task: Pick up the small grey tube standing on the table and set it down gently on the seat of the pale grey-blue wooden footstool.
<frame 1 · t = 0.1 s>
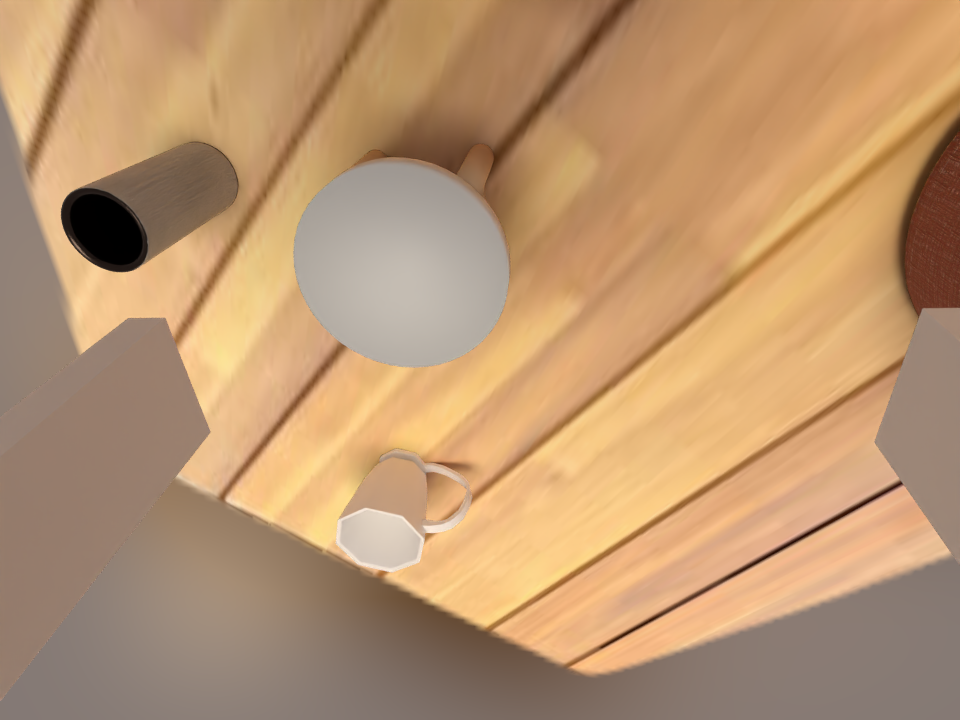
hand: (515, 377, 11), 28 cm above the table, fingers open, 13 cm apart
grey tube 2: (206, 176, 39), on the table
cup: (420, 465, 51), on the table
stool: (434, 212, 38), on the table
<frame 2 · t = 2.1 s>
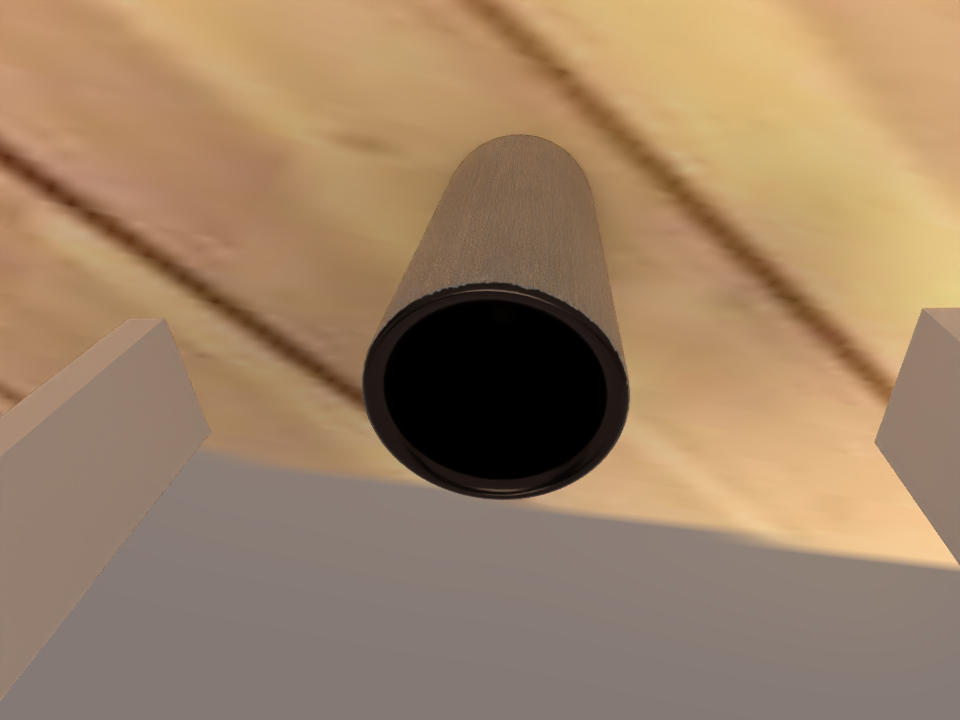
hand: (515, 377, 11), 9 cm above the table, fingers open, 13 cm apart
grey tube 2: (518, 206, 19), on the table
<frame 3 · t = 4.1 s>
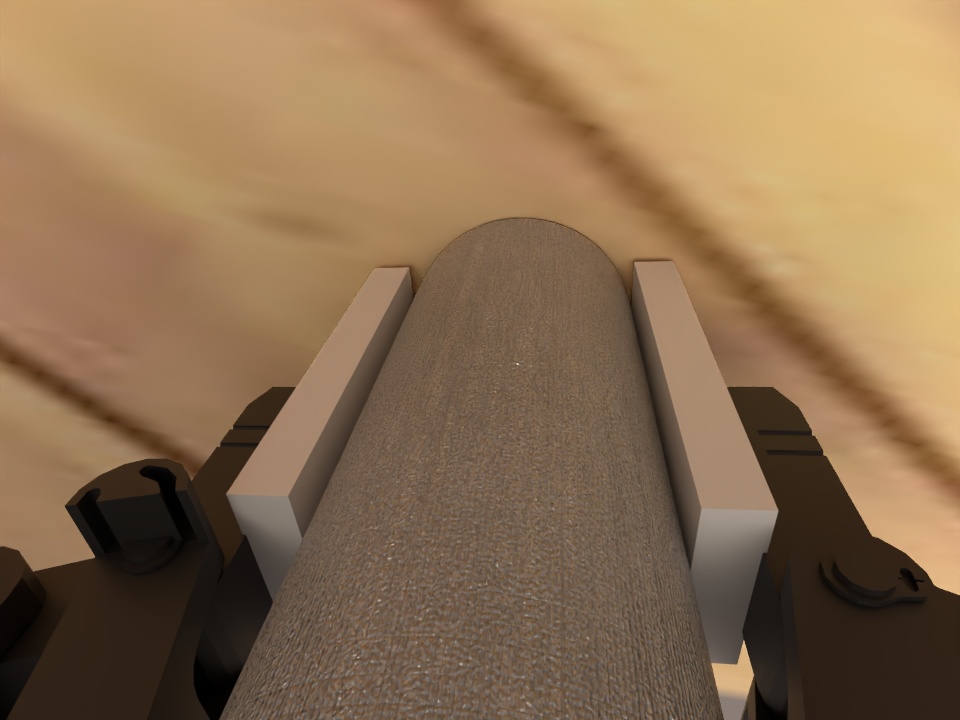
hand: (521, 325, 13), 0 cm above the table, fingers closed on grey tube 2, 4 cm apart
grey tube 2: (522, 312, 13), on the table, touching gripper
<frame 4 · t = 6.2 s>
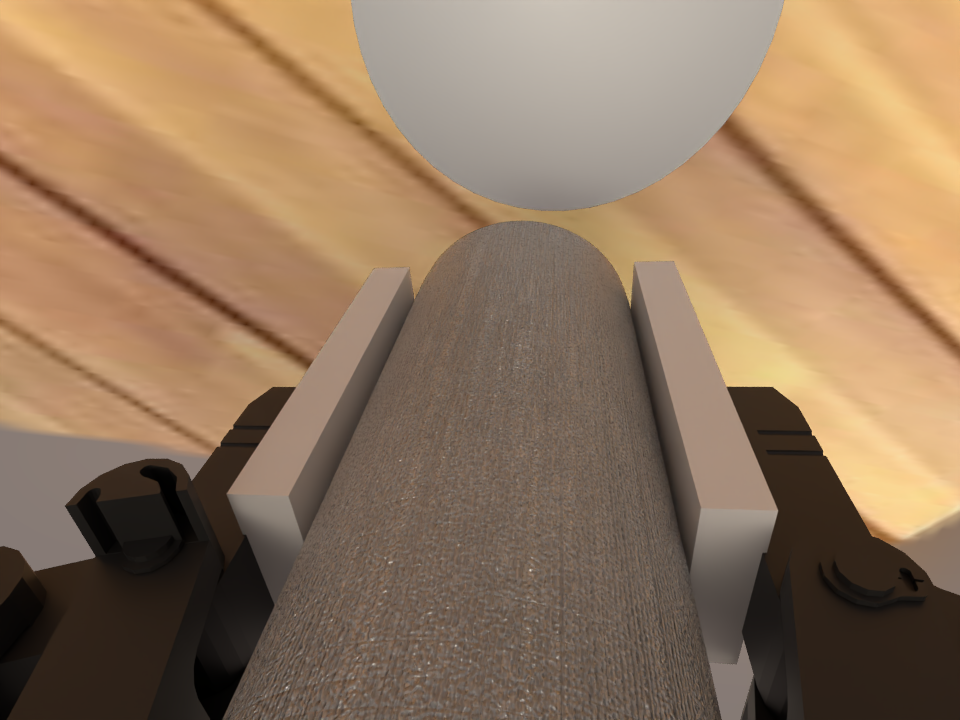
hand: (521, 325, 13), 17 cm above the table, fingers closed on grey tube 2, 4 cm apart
grey tube 2: (522, 314, 13), point 16 cm above the table, touching gripper
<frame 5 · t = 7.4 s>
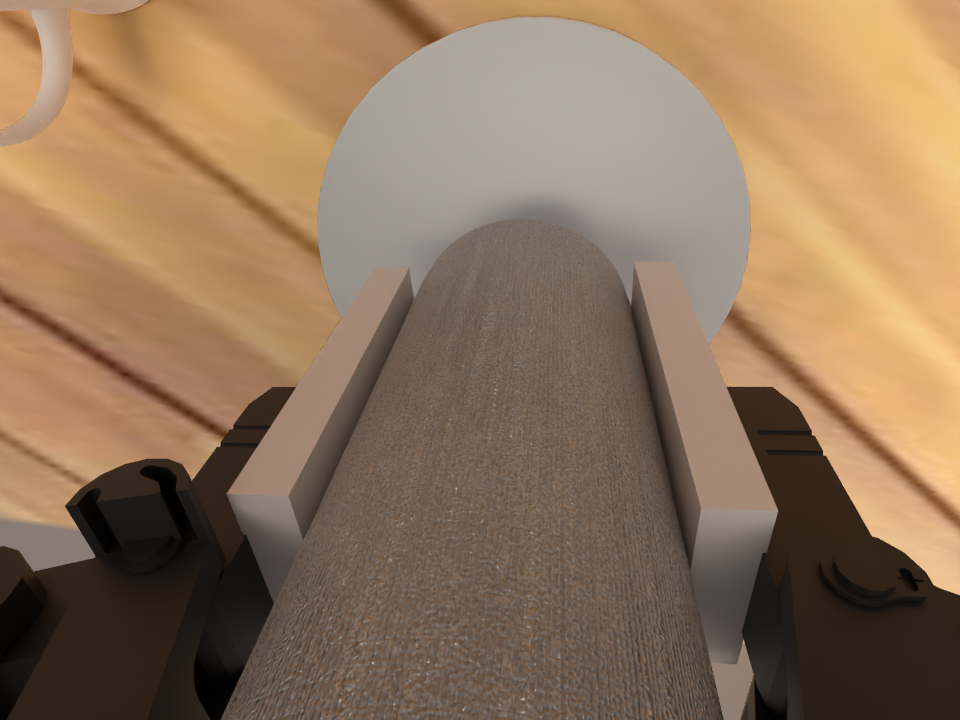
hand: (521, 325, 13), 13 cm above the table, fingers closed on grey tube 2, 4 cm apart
grey tube 2: (522, 313, 13), point 13 cm above the table, touching gripper
stool: (536, 165, 24), on the table
when the fingers open (11 cm above the table, at t = 8.6 s): grey tube 2 stays where it is, resting on stool.
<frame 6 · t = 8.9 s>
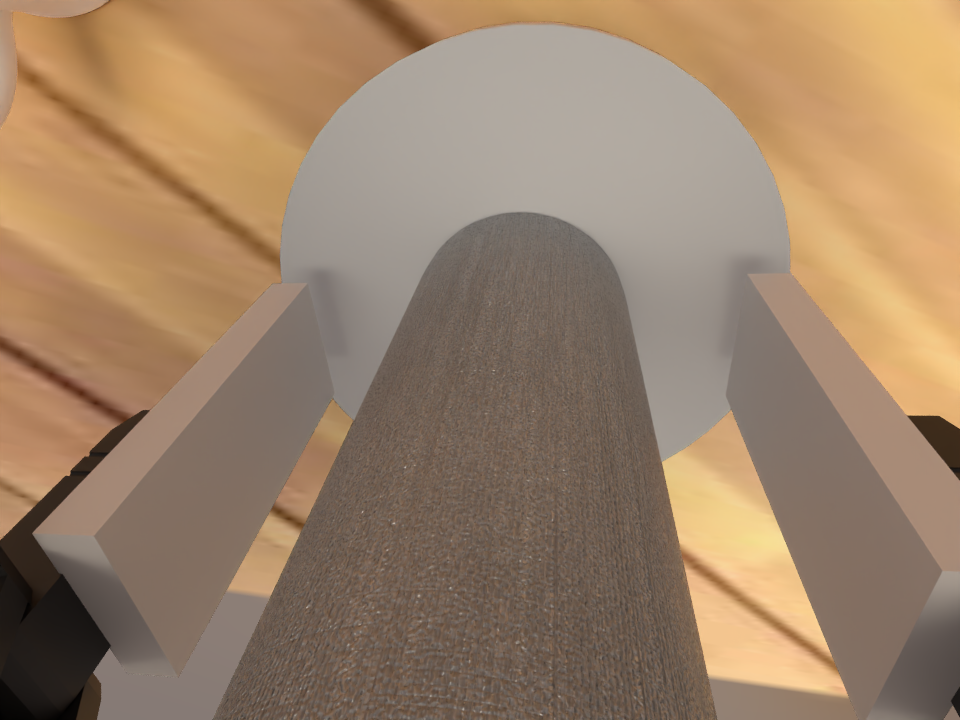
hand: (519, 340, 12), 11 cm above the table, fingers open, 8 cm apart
grey tube 2: (520, 305, 13), point 10 cm above the table, touching stool
stool: (536, 183, 22), on the table
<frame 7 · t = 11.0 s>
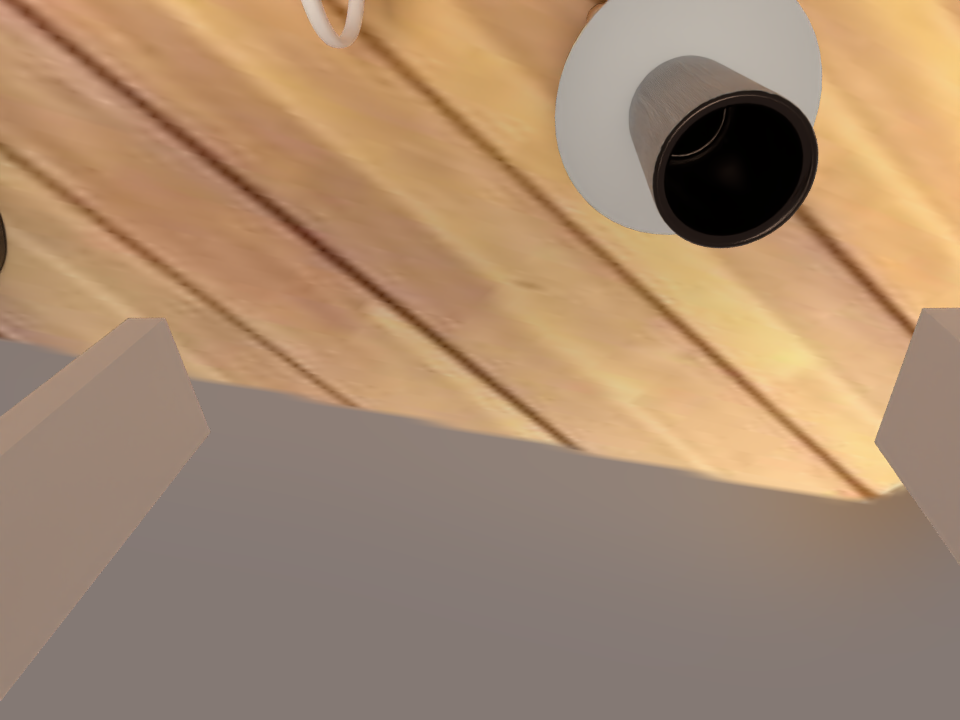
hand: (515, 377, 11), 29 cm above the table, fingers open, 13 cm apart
grey tube 2: (680, 112, 26), point 10 cm above the table, touching stool
stool: (656, 82, 34), on the table
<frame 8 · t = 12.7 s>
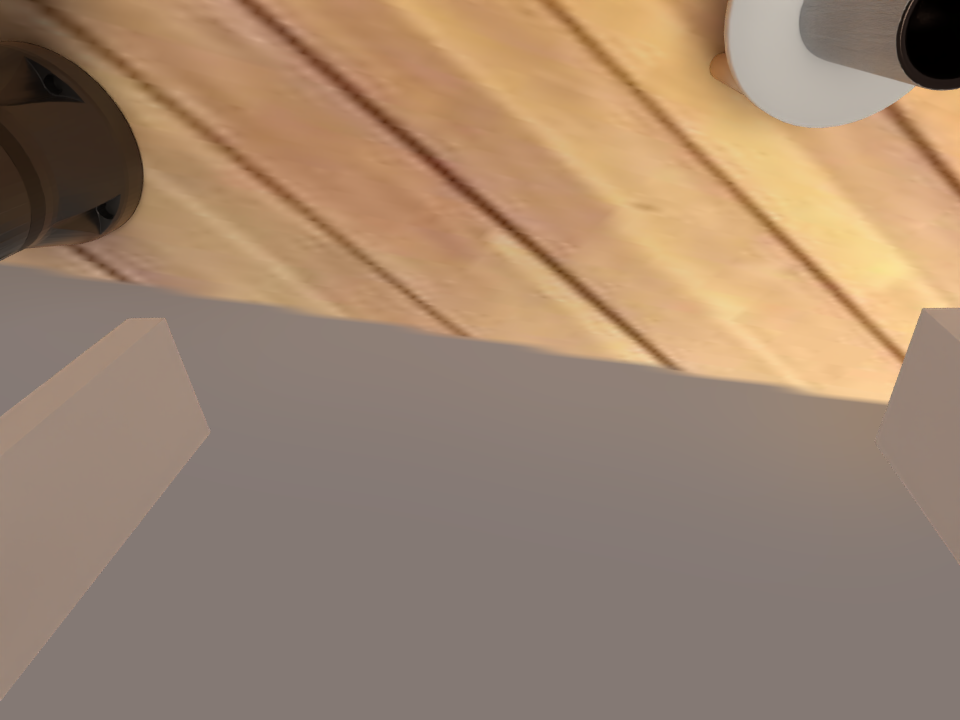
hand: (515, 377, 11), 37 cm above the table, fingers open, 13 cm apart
grey tube 2: (845, 10, 29), point 10 cm above the table, touching stool
stool: (783, 5, 38), on the table
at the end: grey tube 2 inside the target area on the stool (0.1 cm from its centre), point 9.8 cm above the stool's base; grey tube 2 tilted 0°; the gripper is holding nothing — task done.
